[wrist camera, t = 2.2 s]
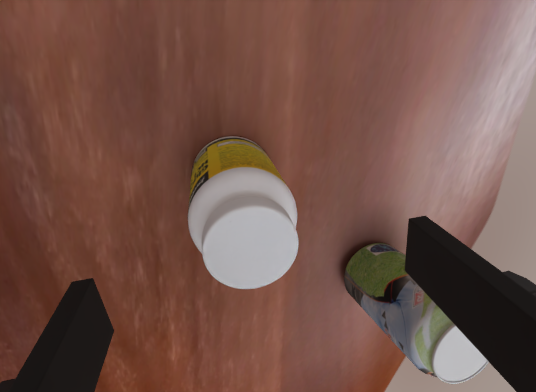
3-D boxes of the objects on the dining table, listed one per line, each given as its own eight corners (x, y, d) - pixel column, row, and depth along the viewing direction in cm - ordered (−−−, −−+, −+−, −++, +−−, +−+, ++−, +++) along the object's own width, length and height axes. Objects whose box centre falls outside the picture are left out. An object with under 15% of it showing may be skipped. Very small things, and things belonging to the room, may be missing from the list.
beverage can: (329, 286, 32) (396, 406, 21) (358, 221, 29) (450, 317, 19) (383, 294, 34) (470, 408, 23) (414, 232, 31) (528, 327, 20)
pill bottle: (190, 132, 24) (183, 189, 14) (273, 135, 25) (322, 189, 15) (191, 210, 26) (186, 306, 16) (267, 209, 27) (306, 298, 17)
